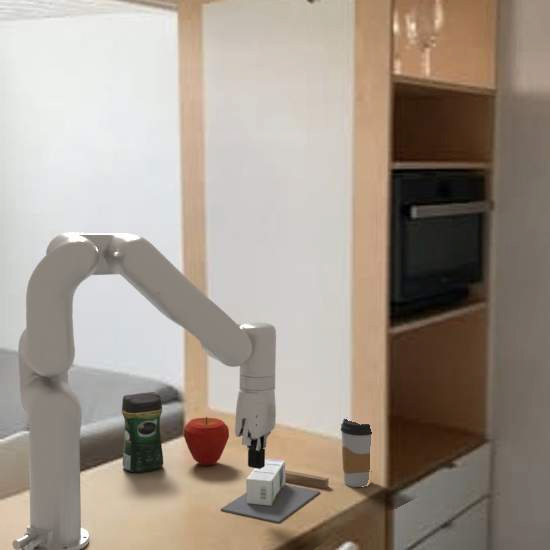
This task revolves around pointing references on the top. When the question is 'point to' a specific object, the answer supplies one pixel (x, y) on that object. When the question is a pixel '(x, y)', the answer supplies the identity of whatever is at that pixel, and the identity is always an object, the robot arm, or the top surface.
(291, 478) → the strip
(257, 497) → the syrup box
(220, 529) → the top surface
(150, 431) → the coffee jar
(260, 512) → the mat
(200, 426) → the apple
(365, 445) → the coffee cup
